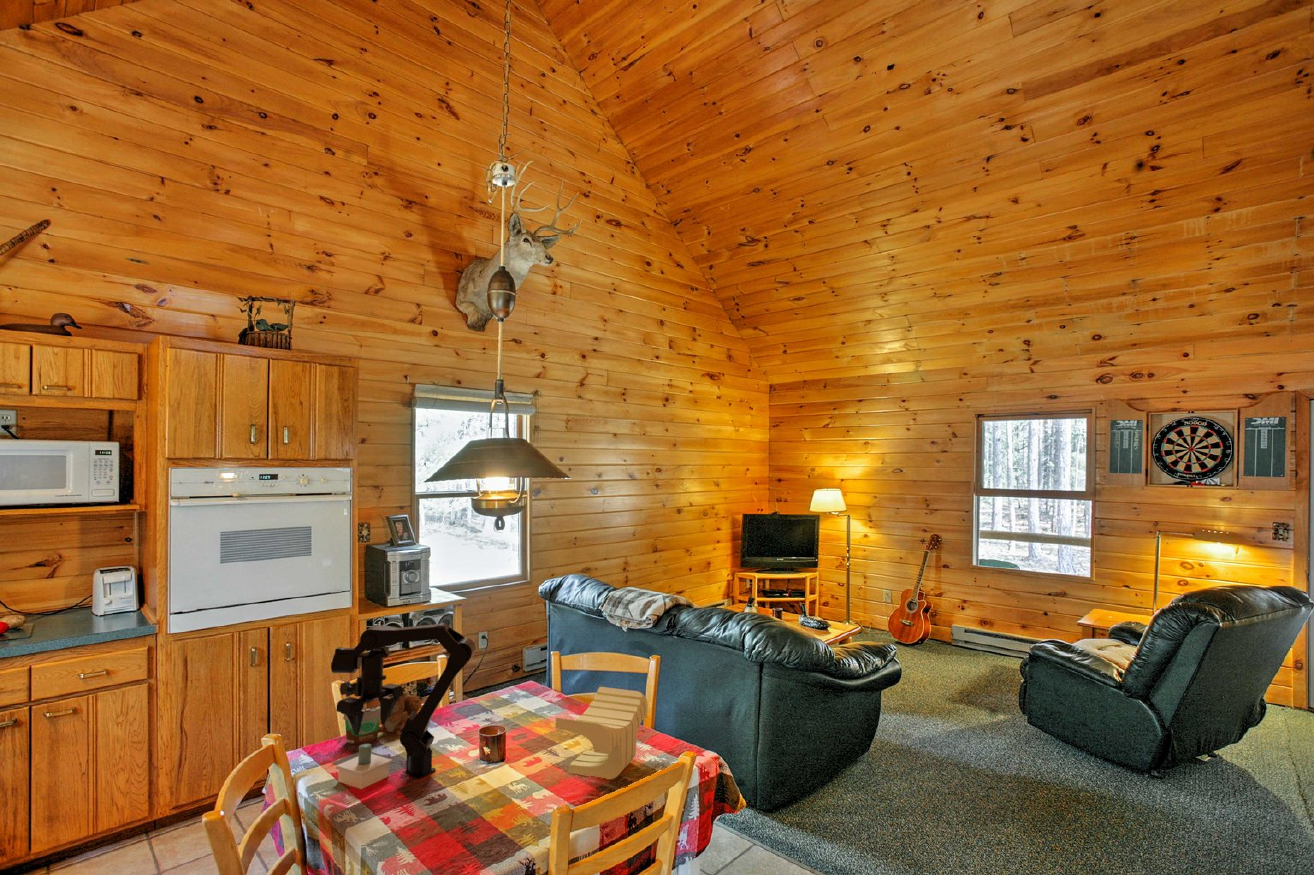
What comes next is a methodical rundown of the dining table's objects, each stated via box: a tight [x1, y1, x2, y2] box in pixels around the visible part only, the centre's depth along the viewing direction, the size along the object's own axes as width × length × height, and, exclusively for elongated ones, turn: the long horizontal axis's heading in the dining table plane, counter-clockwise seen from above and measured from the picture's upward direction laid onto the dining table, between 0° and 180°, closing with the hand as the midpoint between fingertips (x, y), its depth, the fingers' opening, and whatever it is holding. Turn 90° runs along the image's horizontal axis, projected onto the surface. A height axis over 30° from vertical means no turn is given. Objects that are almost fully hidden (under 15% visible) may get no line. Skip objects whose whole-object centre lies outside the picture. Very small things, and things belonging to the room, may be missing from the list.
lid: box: [335, 743, 393, 777], centre depth 186 cm, size 10×10×5 cm
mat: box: [331, 751, 390, 766], centre depth 197 cm, size 11×11×1 cm
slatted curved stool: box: [554, 686, 648, 780], centre depth 197 cm, size 30×16×18 cm, turn 161°
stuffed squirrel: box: [378, 691, 423, 736], centre depth 224 cm, size 10×14×13 cm
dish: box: [337, 764, 390, 790], centre depth 185 cm, size 9×9×4 cm
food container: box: [342, 702, 381, 745], centre depth 212 cm, size 12×6×10 cm, turn 143°
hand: (369, 729), depth 190 cm, fingers open, 9 cm apart
